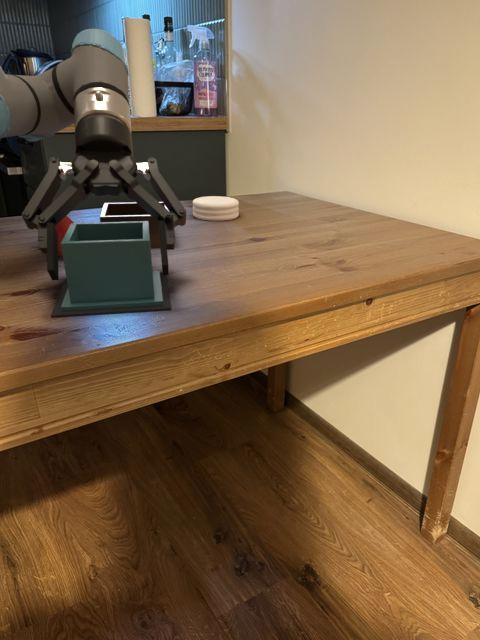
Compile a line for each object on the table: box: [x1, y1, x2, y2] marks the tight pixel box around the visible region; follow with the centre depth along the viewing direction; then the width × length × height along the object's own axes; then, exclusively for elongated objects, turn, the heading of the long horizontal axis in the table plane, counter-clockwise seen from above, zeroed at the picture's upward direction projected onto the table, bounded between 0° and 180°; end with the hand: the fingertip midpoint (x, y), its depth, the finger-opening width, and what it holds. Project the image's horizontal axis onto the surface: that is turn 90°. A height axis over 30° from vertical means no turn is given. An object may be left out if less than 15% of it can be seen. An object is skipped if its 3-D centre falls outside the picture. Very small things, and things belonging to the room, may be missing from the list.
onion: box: [55, 215, 75, 258], centre depth 78 cm, size 6×6×8 cm
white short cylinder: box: [192, 195, 240, 222], centre depth 108 cm, size 10×10×4 cm
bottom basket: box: [99, 201, 169, 249], centre depth 89 cm, size 12×12×6 cm
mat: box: [50, 271, 172, 319], centre depth 66 cm, size 14×14×1 cm
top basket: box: [61, 221, 163, 311], centre depth 64 cm, size 12×12×8 cm
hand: (110, 273), depth 62 cm, fingers open, 13 cm apart
